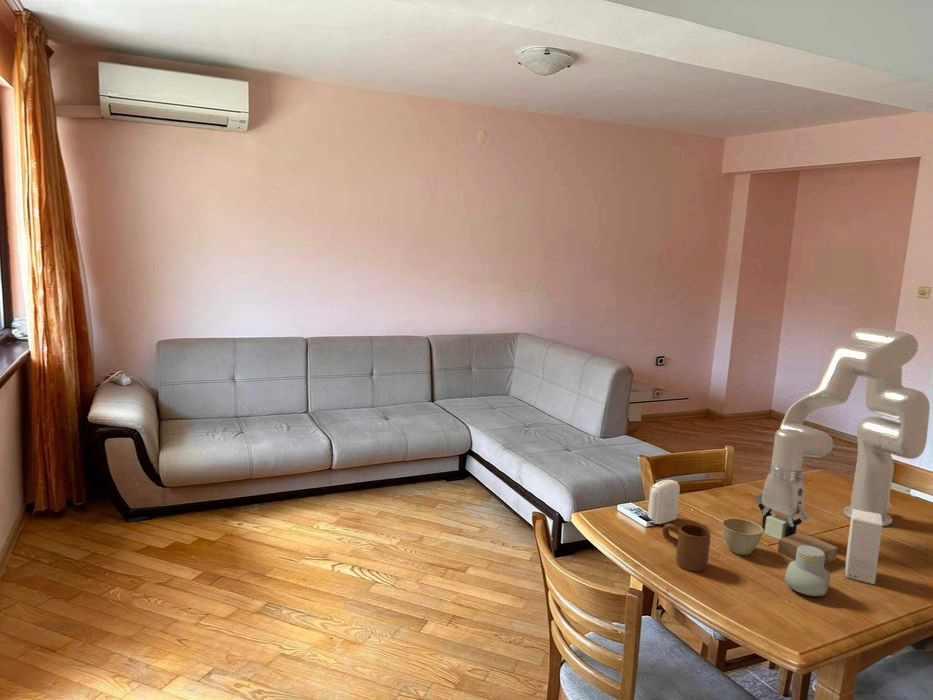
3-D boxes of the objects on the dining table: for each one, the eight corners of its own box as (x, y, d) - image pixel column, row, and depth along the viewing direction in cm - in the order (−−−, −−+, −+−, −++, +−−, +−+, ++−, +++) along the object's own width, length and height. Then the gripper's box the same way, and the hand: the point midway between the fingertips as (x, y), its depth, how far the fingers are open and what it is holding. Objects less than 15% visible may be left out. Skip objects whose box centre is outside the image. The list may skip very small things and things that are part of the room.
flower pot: (740, 540, 172) (743, 516, 171) (768, 557, 163) (771, 531, 162) (711, 544, 169) (714, 519, 168) (737, 562, 160) (740, 536, 159)
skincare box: (874, 585, 151) (884, 525, 148) (843, 577, 154) (851, 518, 152) (874, 571, 158) (882, 513, 155) (843, 563, 161) (852, 507, 159)
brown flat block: (799, 545, 171) (800, 531, 171) (835, 561, 163) (837, 547, 162) (777, 553, 166) (779, 539, 166) (814, 570, 158) (816, 555, 157)
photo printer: (667, 514, 188) (670, 475, 186) (679, 519, 184) (682, 480, 182) (644, 521, 182) (647, 481, 180) (656, 527, 179) (659, 486, 177)
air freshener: (792, 574, 155) (797, 537, 153) (829, 587, 149) (835, 548, 148) (781, 592, 146) (786, 552, 145) (820, 605, 141) (826, 565, 139)
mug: (654, 559, 160) (657, 525, 158) (665, 549, 165) (669, 516, 164) (701, 576, 152) (704, 540, 151) (711, 564, 158) (715, 530, 156)
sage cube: (774, 529, 180) (776, 513, 179) (791, 536, 176) (793, 520, 175) (764, 533, 178) (766, 516, 177) (780, 540, 173) (782, 523, 173)
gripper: (823, 481, 169) (815, 542, 171) (765, 461, 183) (758, 518, 186) (808, 485, 165) (799, 548, 167) (749, 465, 179) (742, 523, 182)
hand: (778, 532), depth 177 cm, fingers open, 6 cm apart
